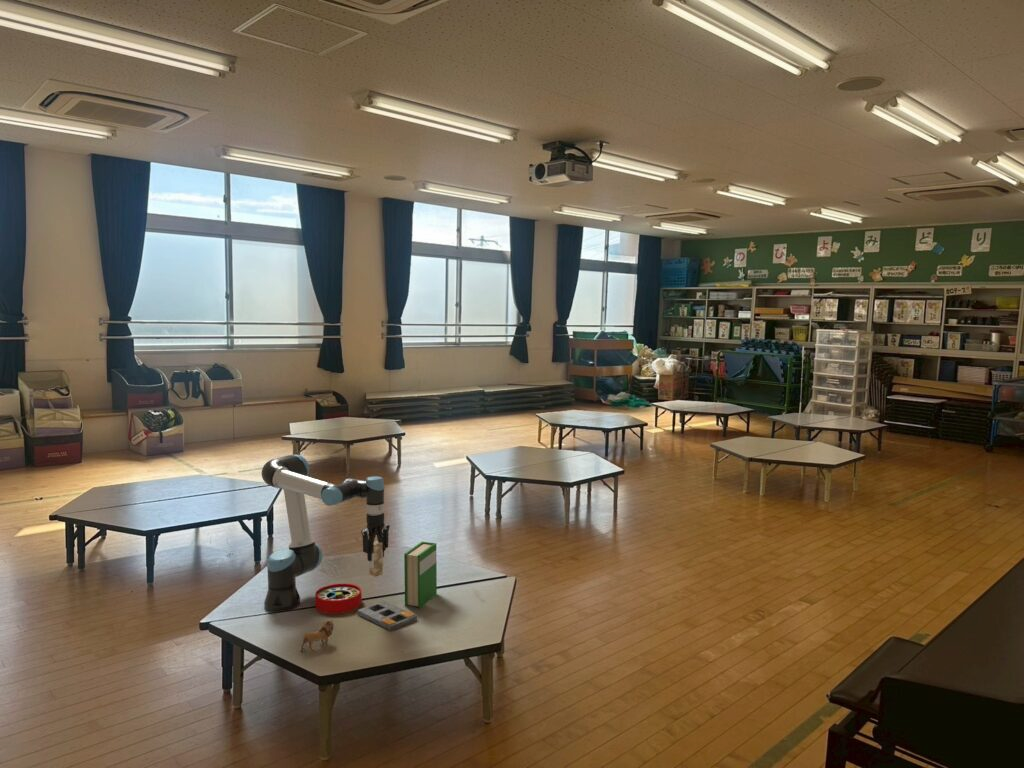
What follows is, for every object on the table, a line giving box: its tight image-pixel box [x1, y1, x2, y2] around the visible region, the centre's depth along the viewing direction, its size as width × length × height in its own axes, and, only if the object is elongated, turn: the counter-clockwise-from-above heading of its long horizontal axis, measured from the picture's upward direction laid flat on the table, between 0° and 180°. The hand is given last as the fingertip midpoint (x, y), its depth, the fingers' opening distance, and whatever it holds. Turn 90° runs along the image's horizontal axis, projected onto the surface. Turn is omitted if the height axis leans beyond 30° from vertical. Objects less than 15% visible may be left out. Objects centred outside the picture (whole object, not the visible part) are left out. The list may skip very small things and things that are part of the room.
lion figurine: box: [299, 619, 335, 653], centre depth 266 cm, size 15×5×9 cm, turn 139°
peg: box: [368, 540, 384, 578], centre depth 296 cm, size 4×4×14 cm
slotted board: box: [356, 600, 418, 632], centre depth 293 cm, size 14×23×2 cm, turn 47°
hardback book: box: [403, 541, 438, 609], centre depth 311 cm, size 18×7×24 cm, turn 162°
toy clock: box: [314, 583, 363, 614], centre depth 307 cm, size 20×6×20 cm
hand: (376, 566), depth 297 cm, fingers closed on peg, 4 cm apart
